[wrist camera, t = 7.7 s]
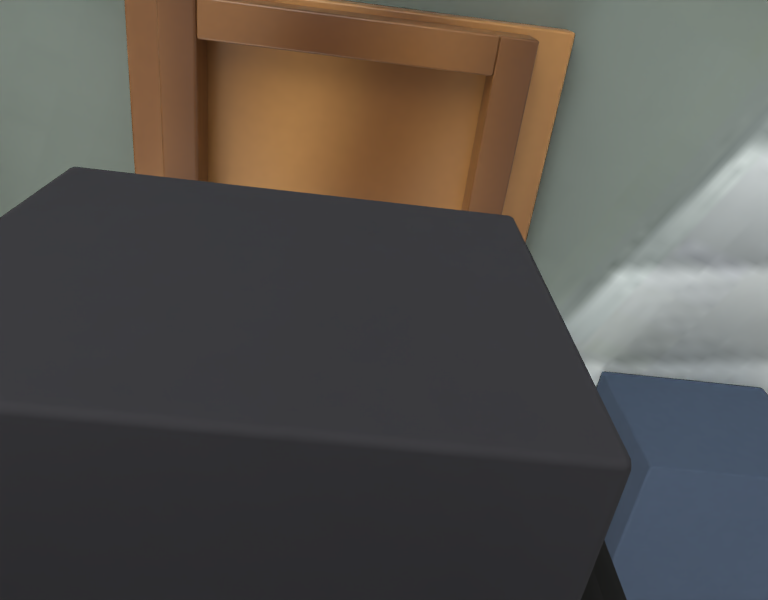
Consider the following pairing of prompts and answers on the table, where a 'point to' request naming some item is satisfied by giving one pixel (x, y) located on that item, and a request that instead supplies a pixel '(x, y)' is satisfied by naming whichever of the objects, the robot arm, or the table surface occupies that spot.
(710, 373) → the table surface
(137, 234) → the charcoal pad
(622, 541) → the slate pad
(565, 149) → the table surface
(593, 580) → the robot arm
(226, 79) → the brown wooden flat tray
